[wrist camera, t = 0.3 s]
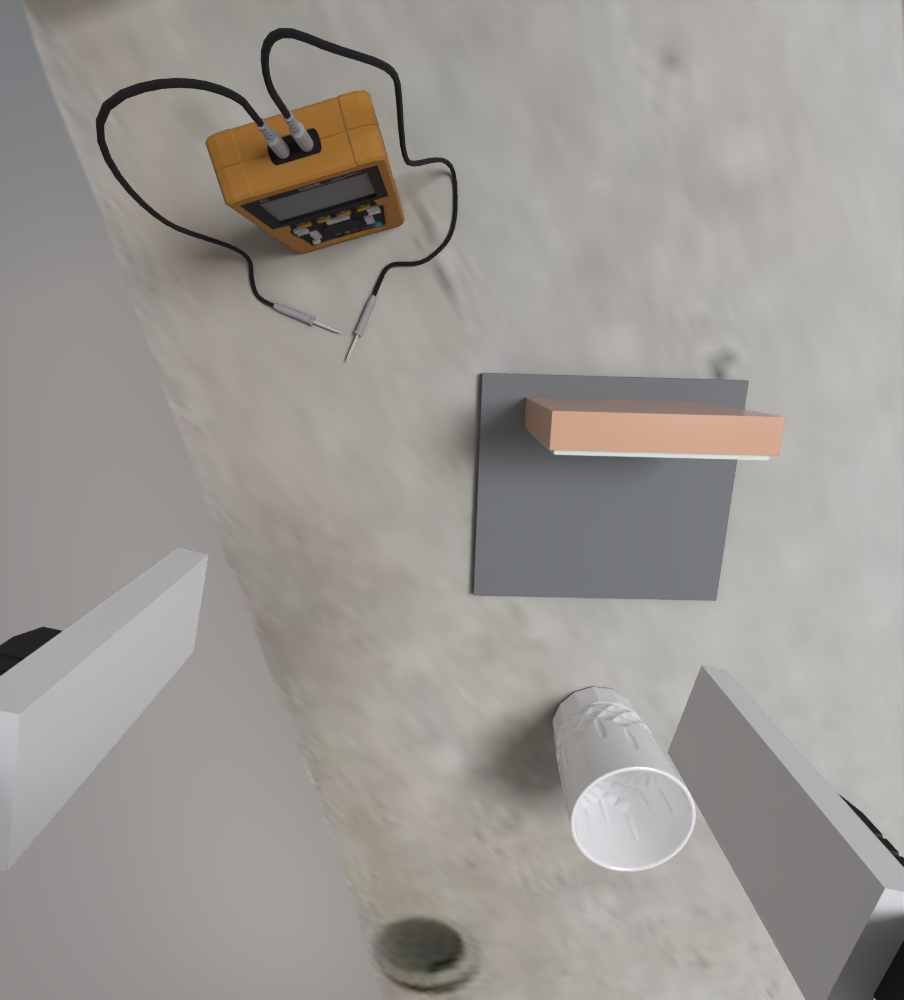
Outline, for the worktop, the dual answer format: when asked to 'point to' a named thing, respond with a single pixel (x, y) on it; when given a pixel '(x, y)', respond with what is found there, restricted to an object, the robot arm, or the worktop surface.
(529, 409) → the tile
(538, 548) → the mat
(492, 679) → the worktop surface
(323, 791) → the worktop surface
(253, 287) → the multimeter
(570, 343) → the worktop surface
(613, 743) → the white cup
